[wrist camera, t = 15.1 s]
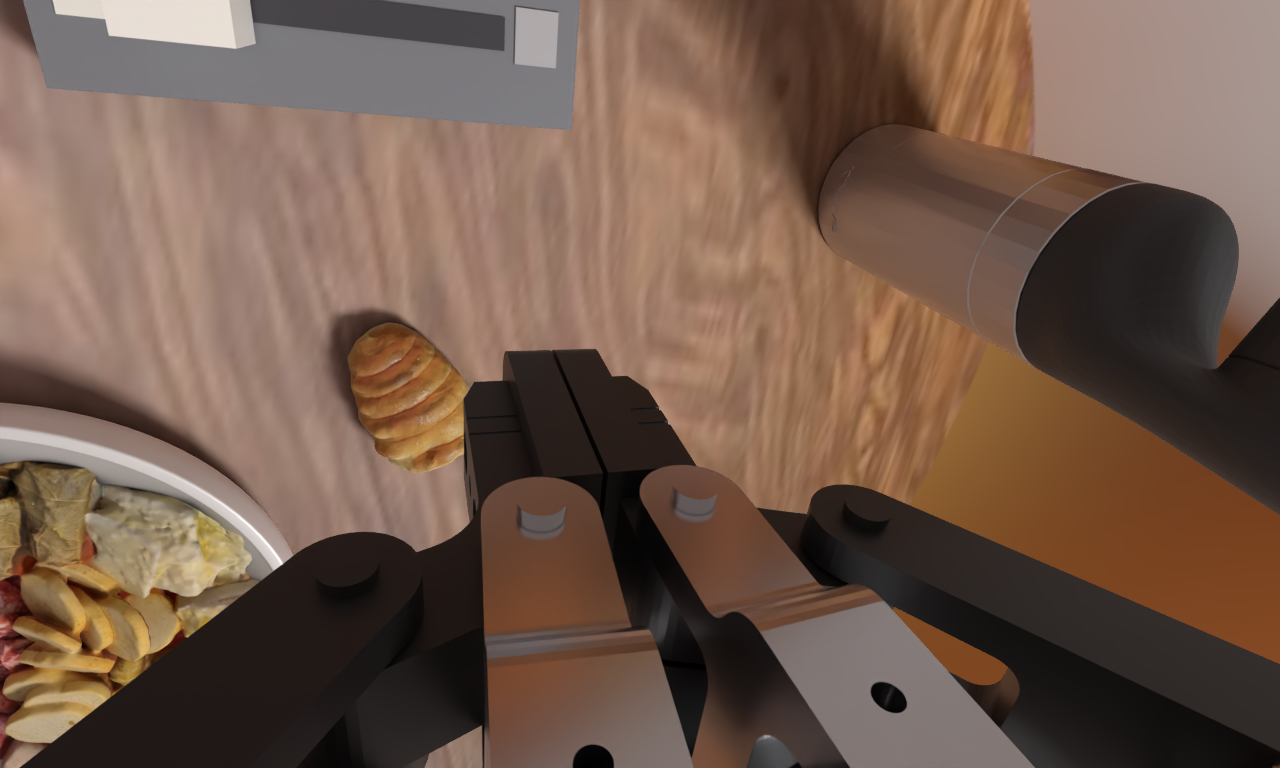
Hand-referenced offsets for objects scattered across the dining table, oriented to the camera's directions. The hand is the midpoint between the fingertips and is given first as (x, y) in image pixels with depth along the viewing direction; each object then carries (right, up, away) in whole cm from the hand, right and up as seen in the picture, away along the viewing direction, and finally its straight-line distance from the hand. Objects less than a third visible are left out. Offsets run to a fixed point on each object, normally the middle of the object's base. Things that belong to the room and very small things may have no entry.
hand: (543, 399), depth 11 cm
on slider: (-17, +16, +16) cm, 28 cm away
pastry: (-13, 0, +31) cm, 34 cm away
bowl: (-35, -12, +30) cm, 48 cm away
